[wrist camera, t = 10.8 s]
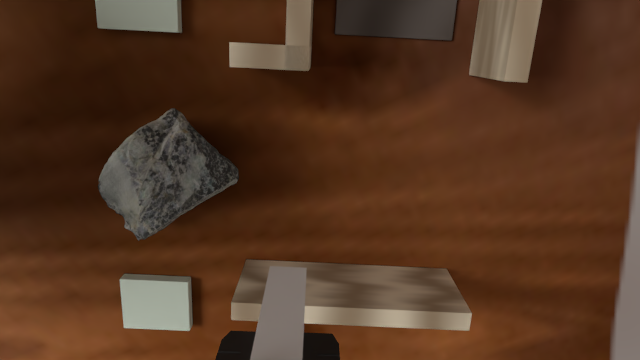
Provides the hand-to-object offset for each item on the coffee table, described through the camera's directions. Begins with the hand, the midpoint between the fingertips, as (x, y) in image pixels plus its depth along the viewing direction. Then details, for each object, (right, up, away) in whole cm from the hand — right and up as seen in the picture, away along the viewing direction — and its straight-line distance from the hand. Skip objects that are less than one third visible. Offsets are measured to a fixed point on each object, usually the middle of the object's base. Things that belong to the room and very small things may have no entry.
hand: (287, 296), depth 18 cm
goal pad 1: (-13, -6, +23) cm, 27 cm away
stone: (-10, +6, +19) cm, 23 cm away
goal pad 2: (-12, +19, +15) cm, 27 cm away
